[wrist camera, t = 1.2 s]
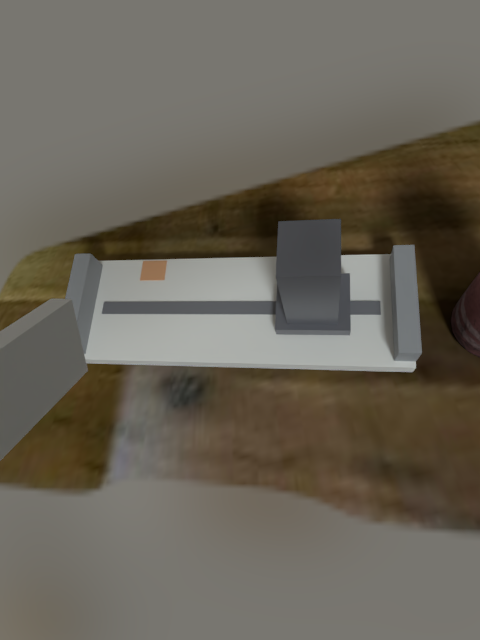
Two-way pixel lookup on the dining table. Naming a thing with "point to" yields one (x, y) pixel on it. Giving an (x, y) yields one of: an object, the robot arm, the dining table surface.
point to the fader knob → (311, 279)
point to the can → (468, 318)
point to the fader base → (240, 314)
